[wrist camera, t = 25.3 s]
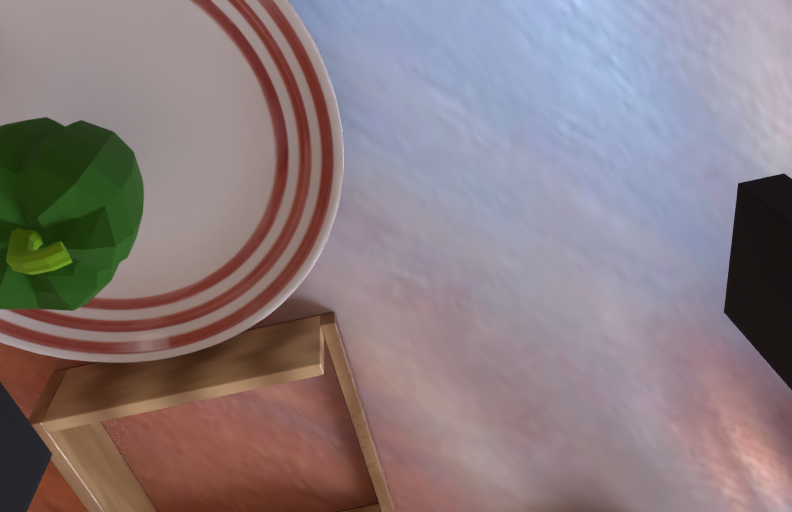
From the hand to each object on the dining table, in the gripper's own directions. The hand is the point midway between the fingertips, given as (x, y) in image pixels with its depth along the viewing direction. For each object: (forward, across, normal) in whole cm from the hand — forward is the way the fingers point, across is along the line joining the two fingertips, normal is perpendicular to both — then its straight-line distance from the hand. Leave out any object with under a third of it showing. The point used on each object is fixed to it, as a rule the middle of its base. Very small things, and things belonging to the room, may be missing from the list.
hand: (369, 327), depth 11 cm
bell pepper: (+24, -15, -4) cm, 28 cm away
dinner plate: (+27, -15, -4) cm, 31 cm away
